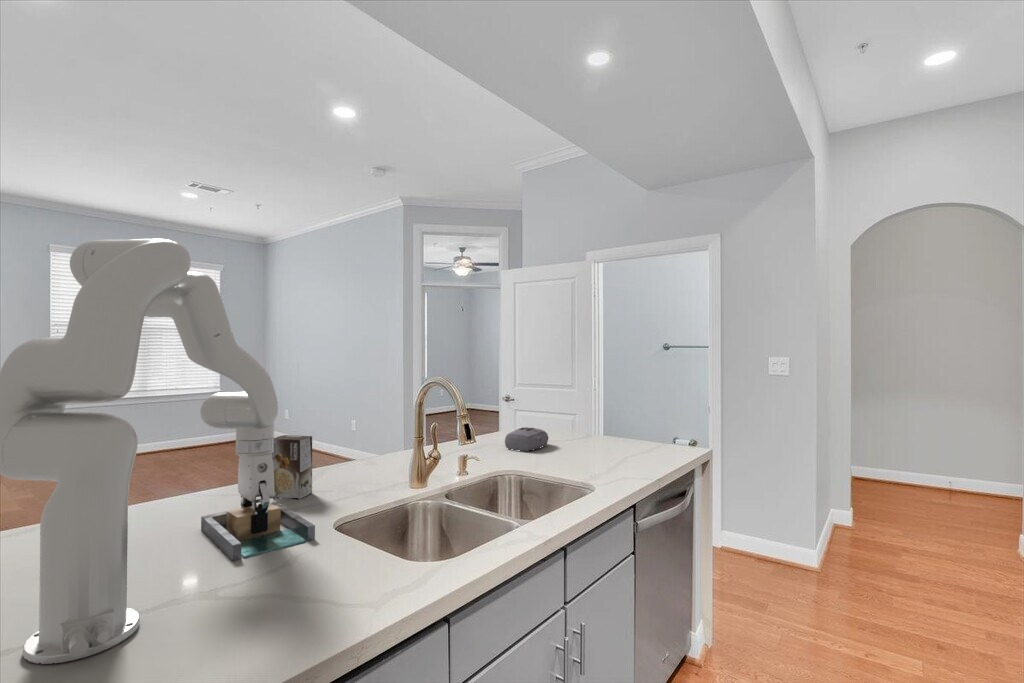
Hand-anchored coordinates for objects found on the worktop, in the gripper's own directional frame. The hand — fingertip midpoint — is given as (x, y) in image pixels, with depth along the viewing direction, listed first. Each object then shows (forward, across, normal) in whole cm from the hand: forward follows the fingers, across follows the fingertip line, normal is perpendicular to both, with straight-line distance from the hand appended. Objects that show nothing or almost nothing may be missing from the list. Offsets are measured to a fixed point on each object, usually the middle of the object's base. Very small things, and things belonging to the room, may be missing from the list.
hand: (253, 527), depth 113 cm
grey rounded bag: (+1, +26, -114) cm, 117 cm away
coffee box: (+1, +23, -17) cm, 29 cm away
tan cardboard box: (+1, 0, 0) cm, 1 cm away
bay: (+1, -2, 0) cm, 2 cm away
